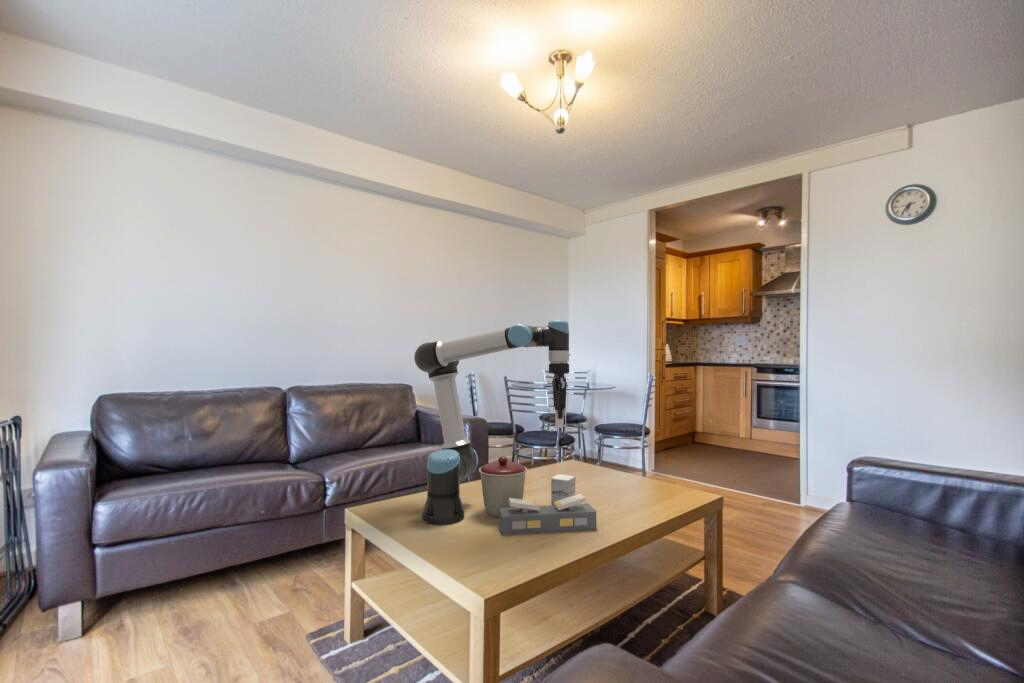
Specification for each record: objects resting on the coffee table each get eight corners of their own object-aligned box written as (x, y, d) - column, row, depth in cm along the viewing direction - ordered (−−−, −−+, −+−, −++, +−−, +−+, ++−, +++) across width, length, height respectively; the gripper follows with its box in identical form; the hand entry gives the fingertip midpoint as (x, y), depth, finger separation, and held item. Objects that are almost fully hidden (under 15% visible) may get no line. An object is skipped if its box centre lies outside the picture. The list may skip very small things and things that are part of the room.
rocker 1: (510, 506, 158) (511, 501, 158) (508, 501, 163) (509, 497, 163) (539, 510, 159) (540, 506, 159) (536, 505, 164) (537, 501, 164)
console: (502, 535, 155) (502, 512, 155) (499, 525, 164) (499, 503, 164) (596, 529, 159) (596, 507, 160) (588, 520, 168) (588, 499, 169)
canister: (522, 523, 165) (522, 463, 166) (472, 520, 169) (472, 461, 170) (531, 507, 183) (530, 452, 184) (486, 504, 187) (485, 450, 187)
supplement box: (550, 511, 178) (550, 477, 178) (558, 506, 184) (557, 473, 185) (569, 514, 174) (568, 480, 175) (576, 508, 181) (575, 475, 181)
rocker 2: (558, 510, 160) (557, 506, 160) (554, 505, 165) (553, 501, 165) (585, 501, 161) (584, 497, 161) (581, 497, 166) (580, 492, 166)
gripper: (573, 362, 168) (574, 429, 167) (564, 362, 181) (565, 424, 180) (552, 363, 167) (553, 430, 166) (545, 362, 180) (545, 425, 179)
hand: (559, 427), depth 173 cm, fingers closed
